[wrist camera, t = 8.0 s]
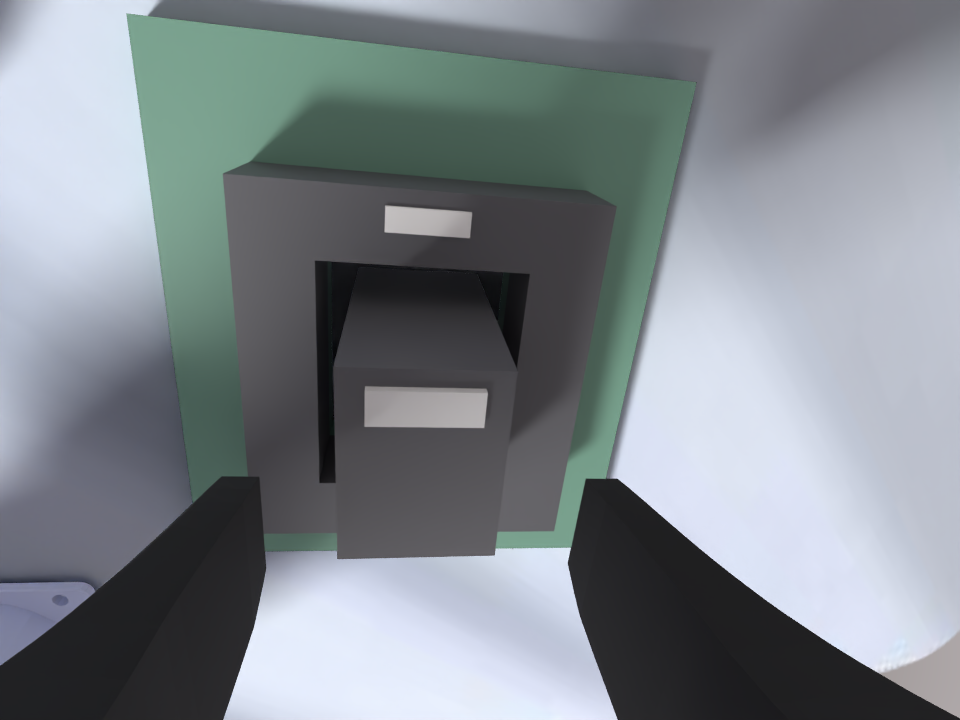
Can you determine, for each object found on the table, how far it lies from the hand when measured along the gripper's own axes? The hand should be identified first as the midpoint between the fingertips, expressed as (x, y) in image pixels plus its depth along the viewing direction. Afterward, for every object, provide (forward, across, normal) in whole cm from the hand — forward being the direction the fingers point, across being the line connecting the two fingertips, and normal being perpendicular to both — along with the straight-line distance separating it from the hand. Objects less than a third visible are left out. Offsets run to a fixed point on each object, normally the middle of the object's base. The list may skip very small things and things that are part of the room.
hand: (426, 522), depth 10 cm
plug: (+9, 0, 0) cm, 9 cm away
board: (+9, 0, 0) cm, 9 cm away
